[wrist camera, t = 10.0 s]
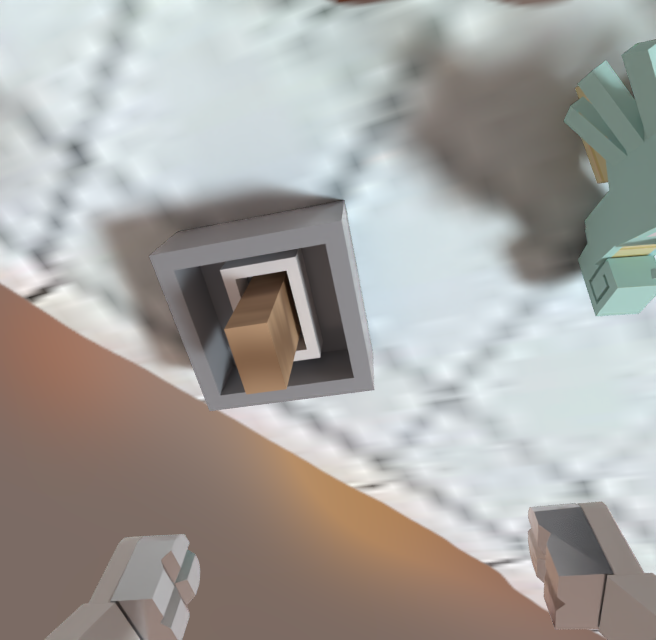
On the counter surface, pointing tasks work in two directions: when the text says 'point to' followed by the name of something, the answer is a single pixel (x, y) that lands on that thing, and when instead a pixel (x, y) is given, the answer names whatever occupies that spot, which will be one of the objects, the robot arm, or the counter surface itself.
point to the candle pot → (307, 288)
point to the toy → (620, 182)
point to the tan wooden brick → (265, 333)
